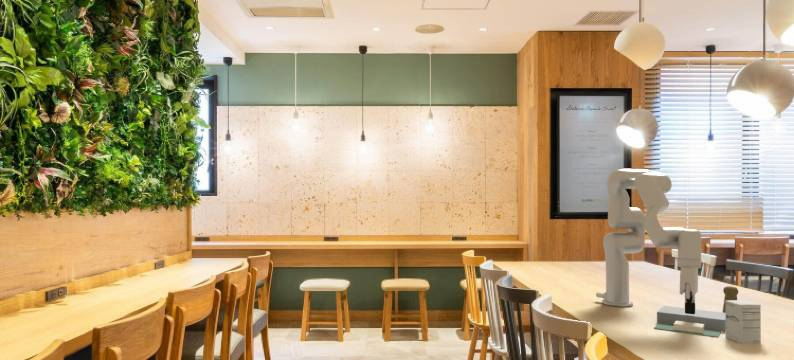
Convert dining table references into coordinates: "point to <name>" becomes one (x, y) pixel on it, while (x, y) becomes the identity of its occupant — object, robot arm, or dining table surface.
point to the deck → (692, 317)
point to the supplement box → (743, 321)
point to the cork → (729, 294)
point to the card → (689, 326)
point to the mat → (671, 328)
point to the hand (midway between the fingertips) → (690, 313)
